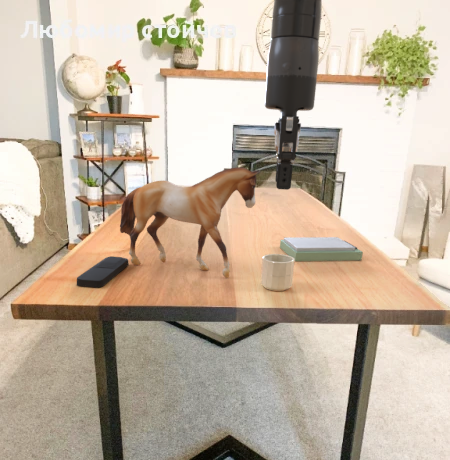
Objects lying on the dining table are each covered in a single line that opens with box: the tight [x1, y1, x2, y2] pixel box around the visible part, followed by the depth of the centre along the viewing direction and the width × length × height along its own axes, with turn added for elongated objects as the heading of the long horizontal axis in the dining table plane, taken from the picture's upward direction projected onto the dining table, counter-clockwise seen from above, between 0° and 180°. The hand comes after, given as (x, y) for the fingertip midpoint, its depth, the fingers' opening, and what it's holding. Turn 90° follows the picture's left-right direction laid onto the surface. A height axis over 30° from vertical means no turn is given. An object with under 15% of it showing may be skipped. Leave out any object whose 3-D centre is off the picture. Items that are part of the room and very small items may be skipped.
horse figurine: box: [119, 166, 261, 279], centre depth 87 cm, size 31×8×21 cm, turn 69°
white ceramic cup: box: [260, 253, 296, 292], centre depth 82 cm, size 6×6×6 cm
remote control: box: [76, 255, 130, 288], centre depth 85 cm, size 5×2×15 cm
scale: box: [279, 236, 364, 262], centre depth 105 cm, size 16×12×3 cm
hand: (282, 185), depth 72 cm, fingers open, 8 cm apart
